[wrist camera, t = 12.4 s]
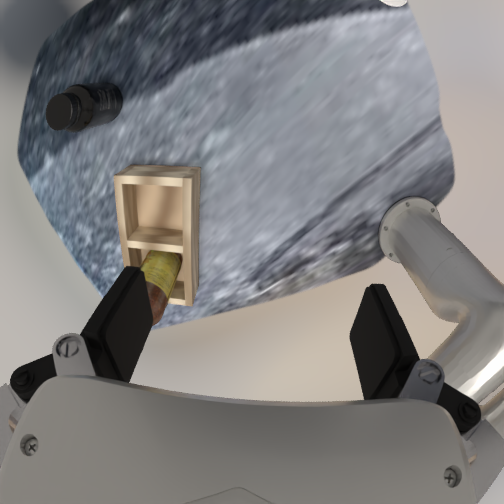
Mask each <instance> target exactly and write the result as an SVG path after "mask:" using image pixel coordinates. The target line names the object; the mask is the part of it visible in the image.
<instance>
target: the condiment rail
mask: <svg viewBox="0 0 504 504" xmlns="http://www.w3.org/2000/svg"><path fill="white" fill-rule="evenodd" d="M200 171H201V167H184V166H163V165H130V166H128V167H126V168H125V169H123V170H122V171H120V172H119V173H117V174H115V175H114V185H115V198H116V208H117V218H118V227H119V235H120V242H121V249H122V256H123V262H124V268H125V267H126V266H135V267H140V266H141V264H142V262H143V260H144V259H145V257H146V255H147V254H148V252H149V251H150V250H157V251H166V252H176V253H180V254H181V256H182V264H181V269H180V272H179V275H178V277H177V280H176V283H175V285H174V288H173V291H172V293H171V296H170V299H169V302H168V303H171V304H178V305H186V306H193V303H194V299H195V296H196V292H197V289H198V286H199V199H200Z"/></svg>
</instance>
